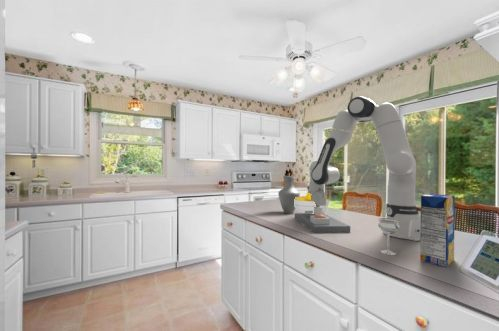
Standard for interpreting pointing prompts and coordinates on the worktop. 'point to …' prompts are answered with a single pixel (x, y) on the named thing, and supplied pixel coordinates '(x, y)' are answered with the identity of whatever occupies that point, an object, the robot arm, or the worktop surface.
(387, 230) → the wineglass
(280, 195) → the vase
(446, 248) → the beverage box
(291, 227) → the worktop surface
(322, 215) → the push button
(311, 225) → the panel
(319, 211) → the paddle
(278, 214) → the worktop surface
